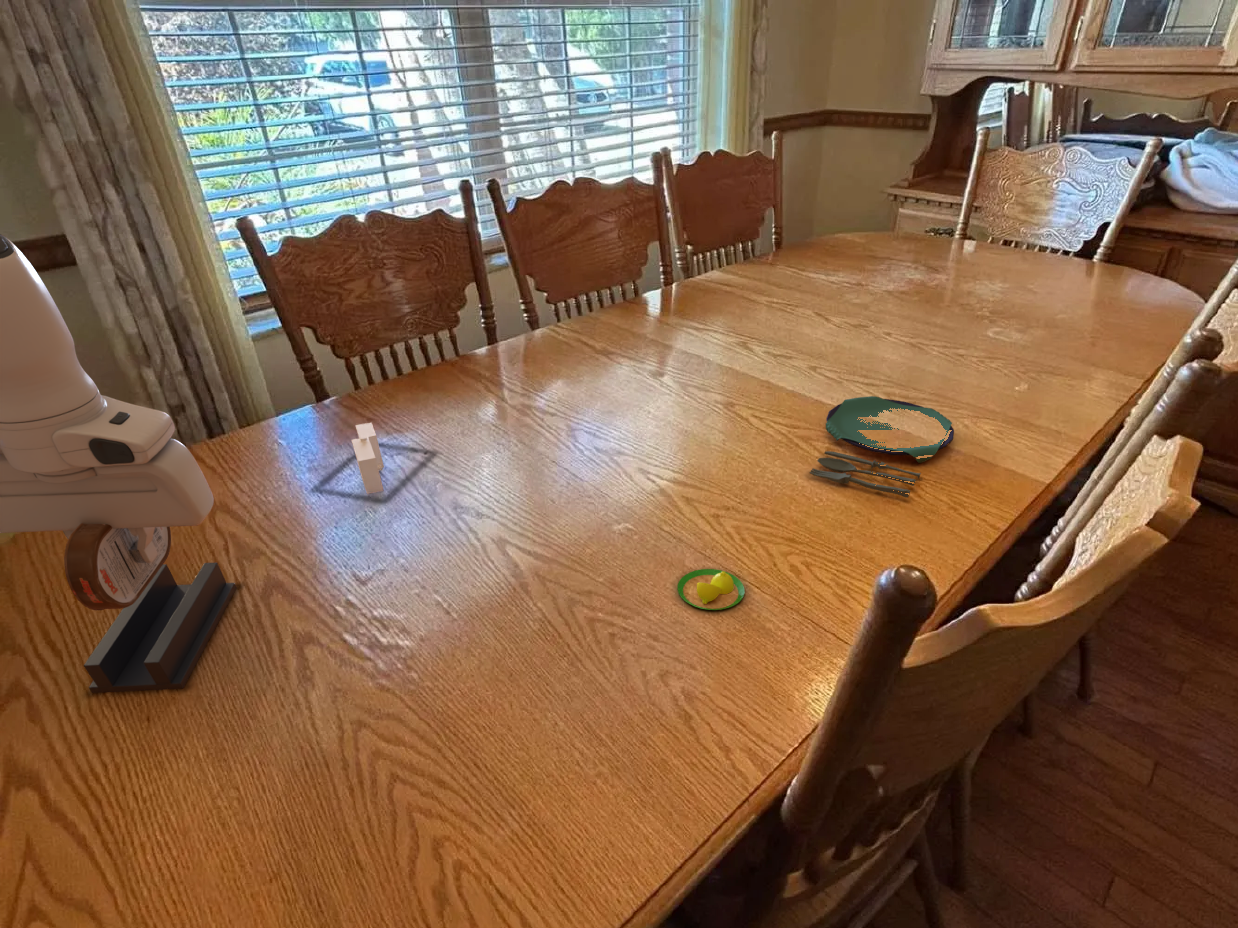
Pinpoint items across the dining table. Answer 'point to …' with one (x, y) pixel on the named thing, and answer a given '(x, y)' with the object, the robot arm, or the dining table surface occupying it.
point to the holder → (160, 633)
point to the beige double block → (368, 457)
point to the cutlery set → (846, 427)
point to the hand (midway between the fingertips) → (128, 560)
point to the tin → (110, 565)
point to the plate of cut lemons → (712, 586)
